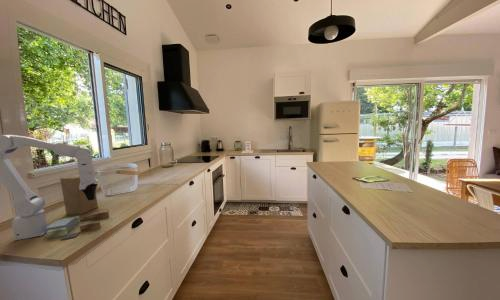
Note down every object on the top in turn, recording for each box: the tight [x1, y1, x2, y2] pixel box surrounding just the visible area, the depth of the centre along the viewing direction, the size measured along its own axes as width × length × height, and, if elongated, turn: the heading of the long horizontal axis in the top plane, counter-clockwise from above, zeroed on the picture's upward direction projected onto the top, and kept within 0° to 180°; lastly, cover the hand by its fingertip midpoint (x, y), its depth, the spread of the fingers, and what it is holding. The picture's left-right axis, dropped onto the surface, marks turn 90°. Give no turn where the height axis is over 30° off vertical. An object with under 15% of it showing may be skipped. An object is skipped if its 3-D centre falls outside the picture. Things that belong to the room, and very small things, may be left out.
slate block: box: [45, 216, 77, 238], centre depth 89 cm, size 7×8×4 cm
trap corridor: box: [47, 210, 110, 241], centre depth 91 cm, size 18×22×3 cm
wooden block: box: [59, 173, 99, 216], centre depth 110 cm, size 10×10×20 cm
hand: (91, 199), depth 96 cm, fingers closed
